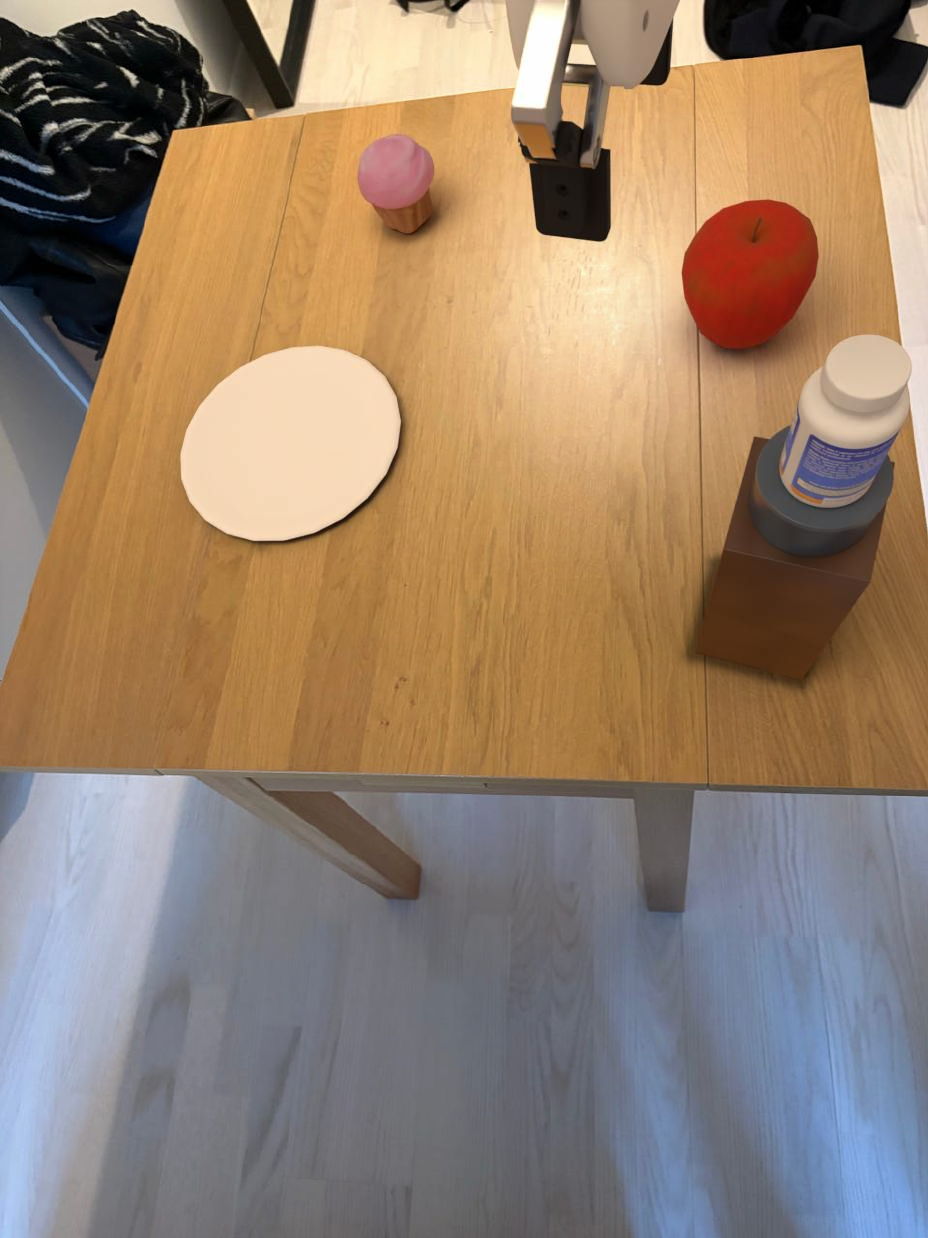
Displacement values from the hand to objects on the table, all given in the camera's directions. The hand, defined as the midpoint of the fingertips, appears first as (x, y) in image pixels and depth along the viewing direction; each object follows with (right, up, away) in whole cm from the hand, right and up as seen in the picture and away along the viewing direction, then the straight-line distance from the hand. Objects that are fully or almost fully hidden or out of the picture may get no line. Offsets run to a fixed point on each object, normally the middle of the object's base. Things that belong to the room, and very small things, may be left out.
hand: (605, 153), depth 36 cm
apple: (+22, +9, +46) cm, 52 cm away
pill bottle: (+16, -12, +12) cm, 23 cm away
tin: (+16, -14, +16) cm, 26 cm away
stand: (+20, -21, +34) cm, 45 cm away
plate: (-25, -2, +51) cm, 57 cm away
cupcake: (-13, +27, +60) cm, 67 cm away
